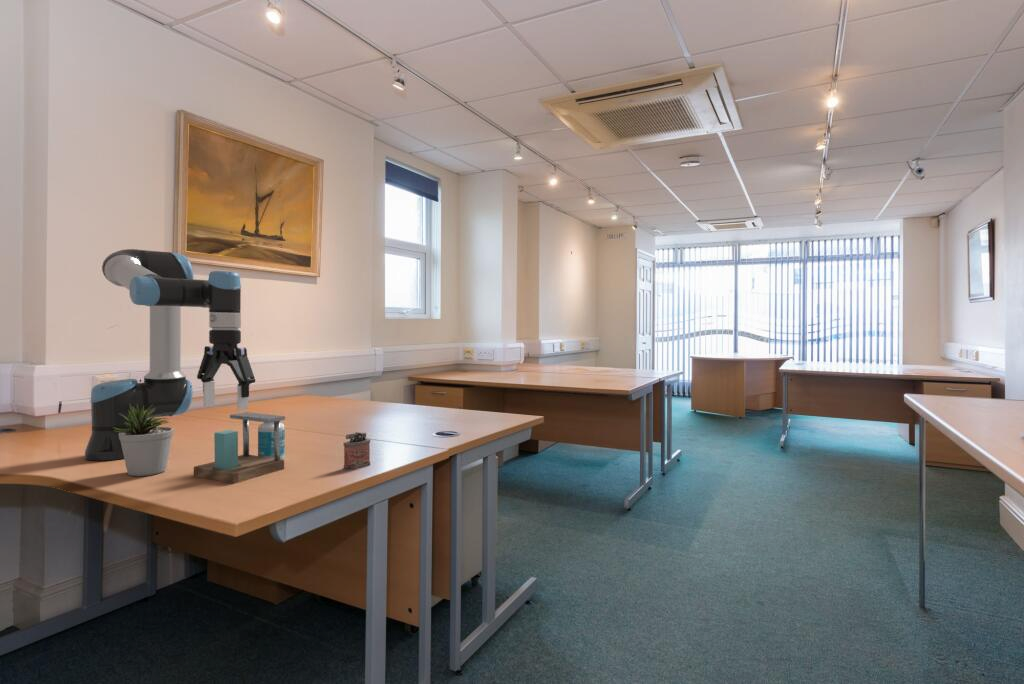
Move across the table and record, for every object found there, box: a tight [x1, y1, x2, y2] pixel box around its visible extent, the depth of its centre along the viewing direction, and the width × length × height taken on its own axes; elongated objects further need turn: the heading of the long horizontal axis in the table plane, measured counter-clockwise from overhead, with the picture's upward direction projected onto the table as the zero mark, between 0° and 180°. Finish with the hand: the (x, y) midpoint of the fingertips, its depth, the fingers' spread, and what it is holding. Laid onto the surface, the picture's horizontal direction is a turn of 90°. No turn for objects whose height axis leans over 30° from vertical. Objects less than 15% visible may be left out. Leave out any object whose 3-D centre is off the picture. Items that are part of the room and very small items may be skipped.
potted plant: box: [113, 404, 174, 477], centre depth 148 cm, size 13×14×20 cm
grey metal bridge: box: [229, 411, 286, 461], centre depth 154 cm, size 16×6×15 cm, turn 64°
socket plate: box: [193, 454, 285, 484], centre depth 149 cm, size 16×16×2 cm
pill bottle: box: [257, 422, 286, 460], centre depth 162 cm, size 8×7×14 cm
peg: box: [213, 429, 239, 470], centre depth 145 cm, size 4×4×12 cm
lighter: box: [343, 431, 371, 471], centre depth 155 cm, size 8×3×10 cm, turn 134°
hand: (225, 407), depth 145 cm, fingers open, 13 cm apart
